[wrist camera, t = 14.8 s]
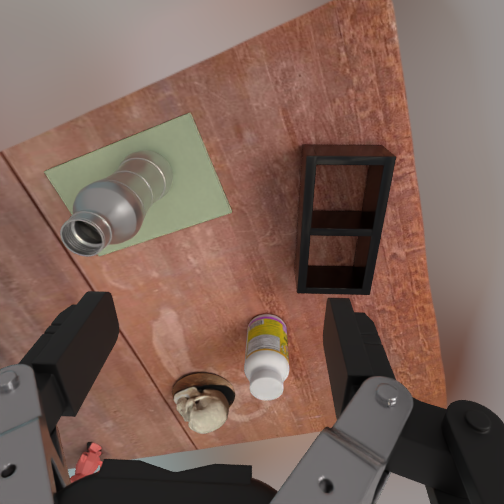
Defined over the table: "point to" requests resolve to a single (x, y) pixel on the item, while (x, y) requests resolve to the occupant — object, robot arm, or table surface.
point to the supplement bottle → (266, 356)
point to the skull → (203, 401)
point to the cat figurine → (88, 462)
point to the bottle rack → (342, 219)
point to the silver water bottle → (116, 203)
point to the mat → (183, 184)
